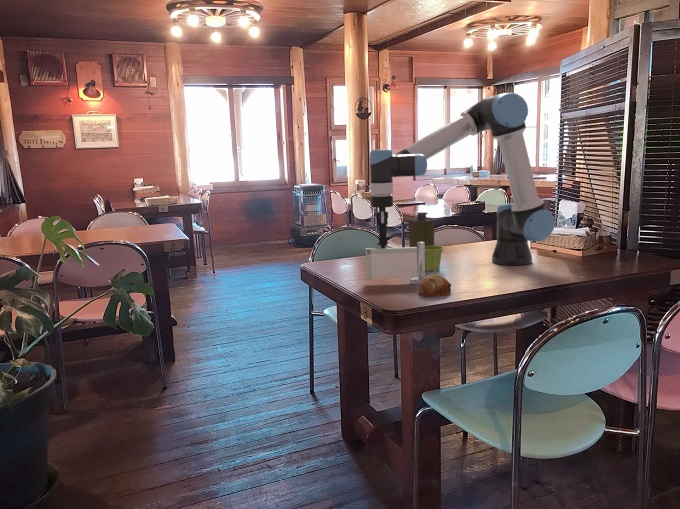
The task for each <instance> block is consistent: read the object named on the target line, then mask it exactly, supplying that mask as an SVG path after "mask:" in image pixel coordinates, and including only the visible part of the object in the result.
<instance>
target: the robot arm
mask: <svg viewBox="0 0 680 509" xmlns="http://www.w3.org/2000/svg"><path fill="white" fill-rule="evenodd" d="M528 116H529V107H528V104H527V101H526V100H525V98H523V96H521V95H519V94H517V93H515V92H503V93H500V94H495V95H490V96H486V97H485V98H483V99H481V100H480V101H478V102H477V103H475V104H473V105H472V106H470V107H469V108H468V109H465V110H464V111H462V112H461V113H460V115H459V117H457V118H455V119H454V120H452V121H450V122H448V123H447V124H444V125H443V126H441V127H440V128H437V129H436V130H435V131H432V132H431V133H430V134H427V135H426V136H424V137H423V138H421V139H419V140H417V141H415V142H414V143H412V144H410V145H409V146H407V147H405V148H404V149H402V150H400V151H398V152H396V153H393V150H392V149H390V148H387V149H385V148H384V149H383V148H382V149H373V150H371V151H370V152H369V171H370V172H369V173H370V174H369V176H370V185H369V186H368V189H370V195H372V196H371V197H370V206H371V208H375V209H377V208H378V211H376V219H377V226H378V230H379V231H378V234H379V235H378V236H379V238H378V242H377V244H376V245H377V246H378V248H388V244H389V241H387V240H388V239H387V234H388V233H387V226H388V224H389V223H388V218H389V212H388V211H386V208H392V207H393V206H394V196H393V193H394V185H393V183H394V182H393V181H394V180H393V178H400V177H401V178H402V177H404V178H405V177H420V176H421V177H422V176H424V175H425V174H426V173H427V170H428V161H427V160H429V159H430V158H432V157H434V156H435V155H437V154H439V153H441V152H442V151H444V150H446V149H447V148H449V147H451V146H453V145H454V144H456V143H458V142H460V141H461V140H463V139H465V138H467V137H469V136H473V137H474V136H476V135H478V134H479V133H482V132H485V131H488V130H489V131H490V132H491V137H492V138H493V139H495V140H497V142H498V146H499V149H500V153H501V157H502V161H503V166H504V169H505V173H506V177H507V180H508V184H509V189H510V192H511V195H512V200H513V203H508V204H507V203H505V204H500V205H498V206H497V210H496V243H495V246H494V249H493V252H492V255H491V263H493V264H497V265H503V266H523V265H525V266H526V265H529V264H532V263H533V255H532V252H531V248H530V246H529V242H542V241H544V240H546V239H548V238H549V237H550V236H551V235H552V232H553V231H554V229H555V224H556V221H555V217H554V215H553V214H552V213H551V212H550V211H549V210H548V209H546V205H545V204H546V203H545V201H544V199H541V198H540V197H539V196H538V190H537V185H536V183H535V178H534V175H533V171H532V170H533V169H532V166H531V162H530V157H529V154H528V149H527V146H526V142H525V141H526V140H525V138H524V137H525V136H524V132H525V130H526V129H527V126H526V122H525V121H526V120H527V117H528ZM528 241H529V242H528Z"/></svg>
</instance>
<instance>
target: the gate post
mask: <svg viewBox="0 0 680 509" xmlns="http://www.w3.org/2000/svg"><path fill="white" fill-rule="evenodd" d="M417 244H418V264H417V277H412V278H411V279H409V284H412V285H420V282H421V281H422V279H423V278H424V277H426V271H425V242H417Z"/></svg>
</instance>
